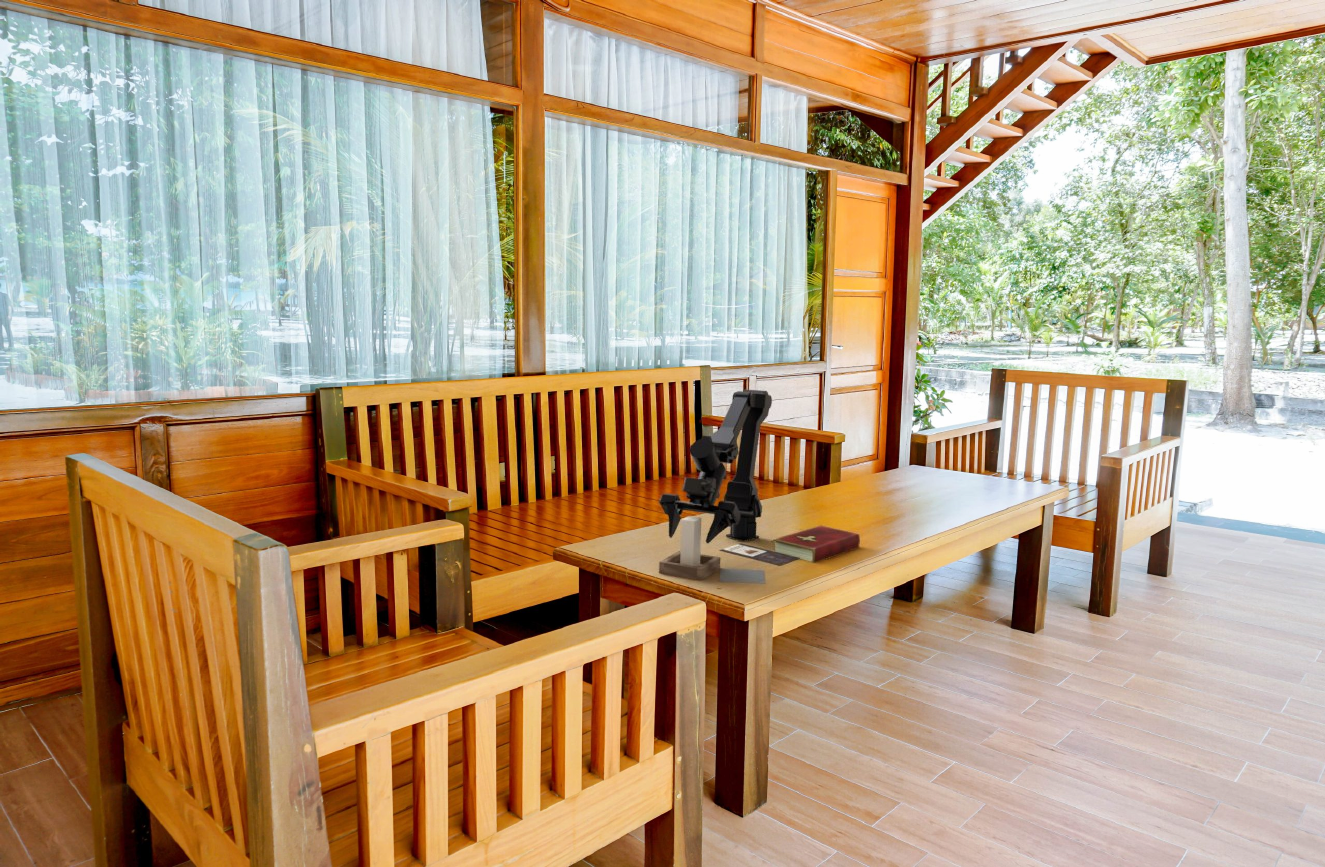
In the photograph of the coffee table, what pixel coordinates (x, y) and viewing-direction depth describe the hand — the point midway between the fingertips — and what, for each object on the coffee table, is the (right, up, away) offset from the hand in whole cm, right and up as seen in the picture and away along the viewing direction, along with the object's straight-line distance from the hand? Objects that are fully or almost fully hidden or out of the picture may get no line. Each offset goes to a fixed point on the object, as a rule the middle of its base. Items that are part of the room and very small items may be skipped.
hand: (688, 539), depth 201 cm
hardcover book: (+33, -6, +23) cm, 41 cm away
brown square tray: (0, -8, +2) cm, 8 cm away
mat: (+12, -8, -1) cm, 15 cm away
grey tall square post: (0, -8, +2) cm, 8 cm away
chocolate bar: (+18, -7, +17) cm, 25 cm away
